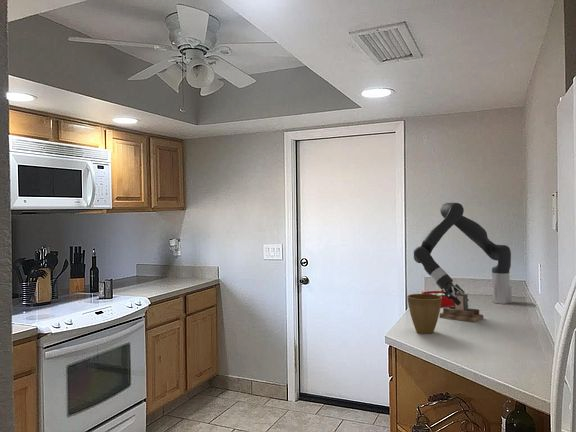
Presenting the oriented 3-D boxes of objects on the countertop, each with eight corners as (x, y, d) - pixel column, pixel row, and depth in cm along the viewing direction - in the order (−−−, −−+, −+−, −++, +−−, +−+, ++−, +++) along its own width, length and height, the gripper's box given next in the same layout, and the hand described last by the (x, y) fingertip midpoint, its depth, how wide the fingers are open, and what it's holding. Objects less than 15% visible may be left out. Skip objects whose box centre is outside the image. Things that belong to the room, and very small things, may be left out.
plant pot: (417, 337, 203) (416, 300, 203) (402, 329, 217) (401, 294, 217) (449, 334, 206) (448, 298, 206) (432, 326, 220) (431, 292, 220)
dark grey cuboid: (454, 313, 237) (453, 294, 237) (457, 312, 240) (457, 293, 240) (464, 315, 233) (464, 295, 233) (468, 314, 236) (467, 294, 236)
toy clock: (425, 297, 266) (418, 291, 286) (425, 307, 266) (418, 300, 286) (461, 296, 265) (451, 290, 284) (462, 306, 265) (452, 300, 285)
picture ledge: (439, 317, 239) (439, 308, 239) (449, 313, 246) (448, 305, 246) (474, 322, 226) (474, 313, 226) (483, 318, 233) (483, 309, 233)
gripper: (439, 275, 237) (461, 300, 228) (452, 272, 247) (474, 296, 238) (429, 284, 240) (451, 310, 232) (443, 281, 250) (464, 305, 242)
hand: (463, 303), depth 235 cm, fingers open, 8 cm apart
